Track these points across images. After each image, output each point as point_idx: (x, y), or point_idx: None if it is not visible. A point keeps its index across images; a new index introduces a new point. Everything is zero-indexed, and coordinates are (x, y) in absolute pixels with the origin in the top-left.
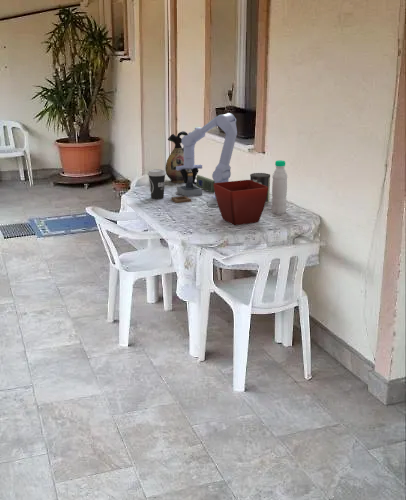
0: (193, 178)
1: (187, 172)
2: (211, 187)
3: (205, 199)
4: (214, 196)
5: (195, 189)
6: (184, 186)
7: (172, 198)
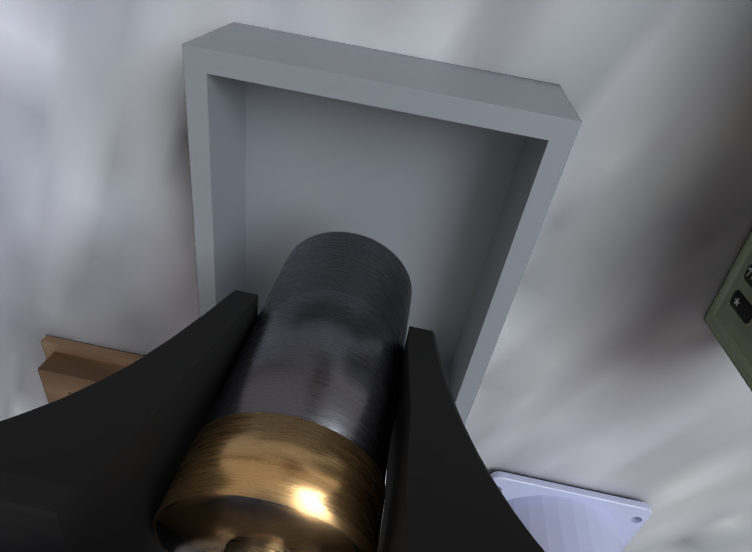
0: (390, 447)
1: (213, 526)
2: (747, 351)
3: (385, 480)
4: (507, 495)
5: (506, 218)
6: (343, 99)
7: (48, 383)
